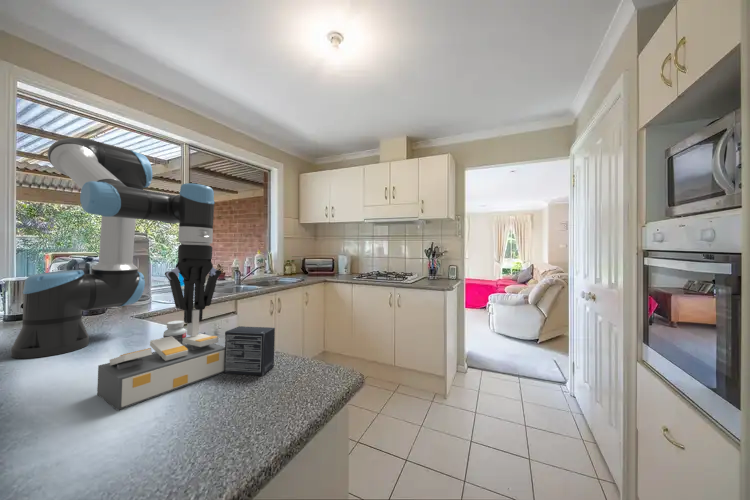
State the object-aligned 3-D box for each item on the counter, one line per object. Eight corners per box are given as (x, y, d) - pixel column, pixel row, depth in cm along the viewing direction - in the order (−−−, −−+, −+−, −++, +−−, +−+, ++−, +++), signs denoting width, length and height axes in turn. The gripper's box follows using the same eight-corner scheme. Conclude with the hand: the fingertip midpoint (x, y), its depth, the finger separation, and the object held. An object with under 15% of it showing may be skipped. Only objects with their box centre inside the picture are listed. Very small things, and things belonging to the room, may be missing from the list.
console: (97, 394, 58) (98, 361, 58) (202, 362, 76) (203, 337, 76) (118, 411, 52) (119, 374, 52) (226, 371, 70) (227, 344, 70)
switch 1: (110, 365, 58) (109, 359, 58) (136, 359, 62) (135, 352, 62) (124, 361, 54) (124, 354, 55) (151, 354, 58) (151, 347, 58)
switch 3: (183, 342, 70) (183, 337, 70) (201, 338, 74) (201, 333, 74) (200, 347, 66) (200, 341, 66) (218, 342, 70) (218, 336, 70)
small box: (275, 366, 74) (276, 326, 75) (263, 376, 68) (264, 333, 68) (238, 363, 76) (239, 324, 76) (222, 373, 69) (223, 331, 69)
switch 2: (149, 345, 64) (150, 340, 64) (171, 340, 68) (172, 335, 68) (165, 361, 60) (166, 355, 60) (187, 354, 64) (188, 349, 64)
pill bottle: (187, 356, 80) (188, 322, 80) (164, 361, 76) (165, 325, 76) (183, 351, 84) (184, 318, 84) (161, 355, 80) (162, 321, 80)
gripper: (174, 243, 65) (171, 344, 65) (228, 245, 76) (225, 331, 76) (159, 243, 69) (156, 338, 69) (213, 245, 80) (210, 327, 80)
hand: (192, 334), depth 72 cm, fingers closed
